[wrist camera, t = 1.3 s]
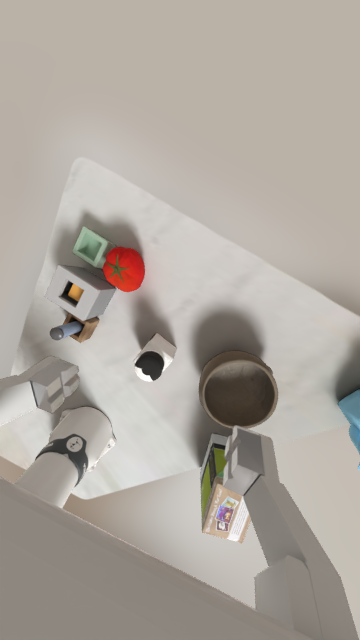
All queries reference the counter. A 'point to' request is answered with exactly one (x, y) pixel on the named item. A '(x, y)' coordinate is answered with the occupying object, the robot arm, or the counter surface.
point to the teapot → (352, 416)
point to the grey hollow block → (91, 299)
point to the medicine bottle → (154, 358)
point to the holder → (87, 330)
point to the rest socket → (92, 247)
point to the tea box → (221, 496)
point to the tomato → (124, 268)
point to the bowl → (238, 390)
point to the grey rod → (66, 330)
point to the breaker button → (76, 292)
